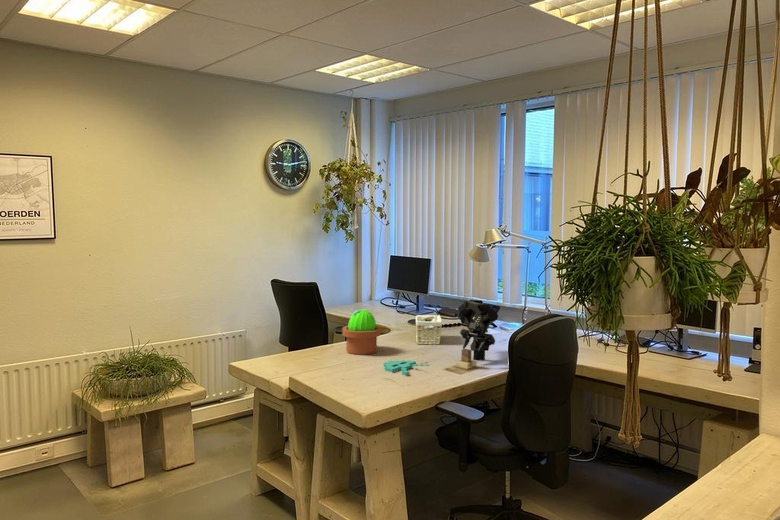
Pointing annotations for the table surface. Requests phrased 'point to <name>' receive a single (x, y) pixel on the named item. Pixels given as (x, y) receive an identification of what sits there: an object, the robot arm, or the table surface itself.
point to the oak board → (459, 369)
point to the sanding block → (466, 360)
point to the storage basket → (428, 329)
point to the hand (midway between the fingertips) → (470, 350)
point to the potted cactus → (361, 333)
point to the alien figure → (400, 366)
